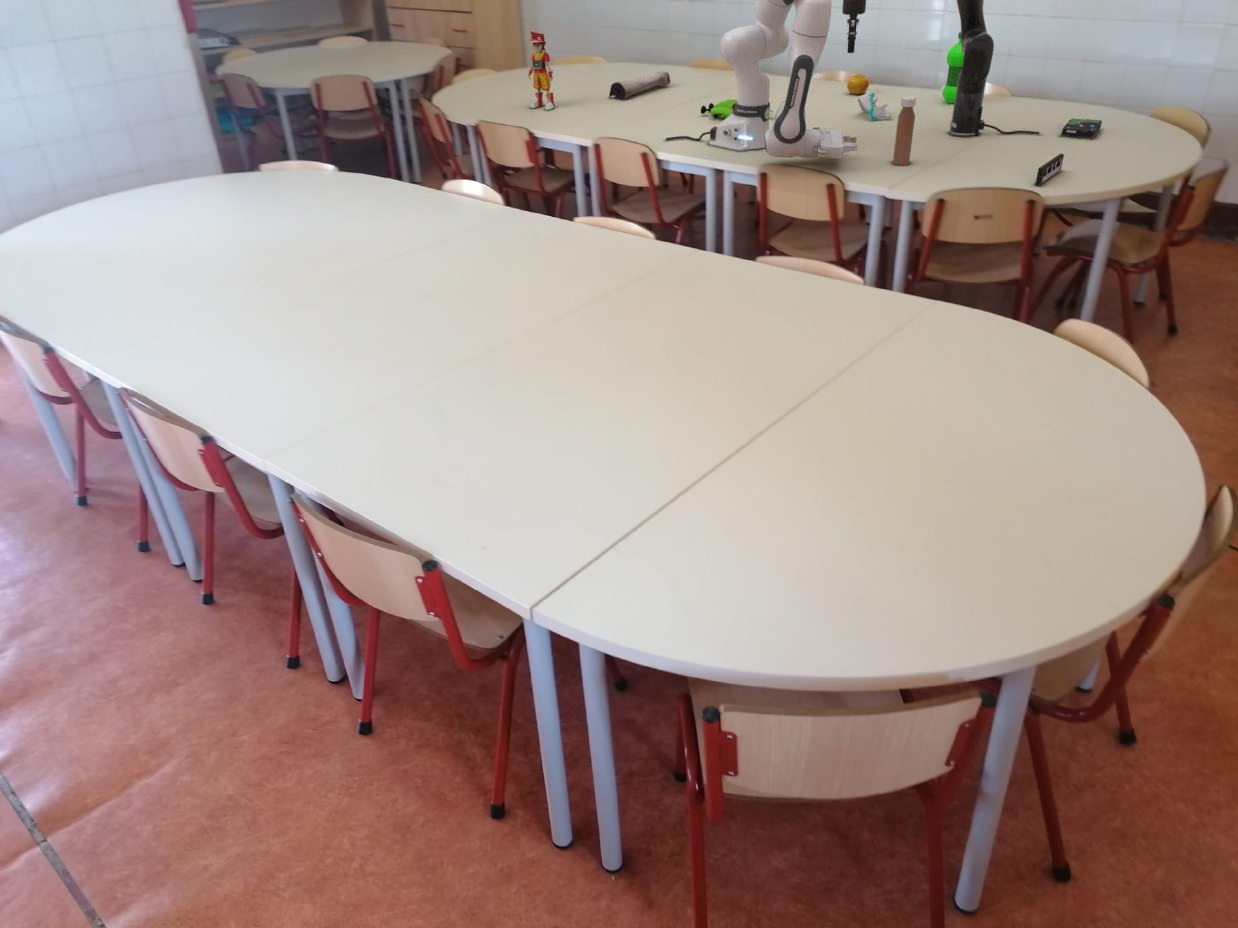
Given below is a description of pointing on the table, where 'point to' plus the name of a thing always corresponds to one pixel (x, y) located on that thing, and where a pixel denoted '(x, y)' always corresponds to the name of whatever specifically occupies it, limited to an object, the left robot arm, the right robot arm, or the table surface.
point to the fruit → (857, 84)
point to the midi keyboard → (1049, 169)
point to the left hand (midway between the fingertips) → (857, 143)
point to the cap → (908, 101)
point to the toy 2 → (721, 109)
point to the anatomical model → (872, 106)
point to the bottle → (904, 136)
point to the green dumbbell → (953, 71)
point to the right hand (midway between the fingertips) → (850, 50)
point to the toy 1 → (541, 71)
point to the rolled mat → (638, 84)
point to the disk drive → (1081, 128)
